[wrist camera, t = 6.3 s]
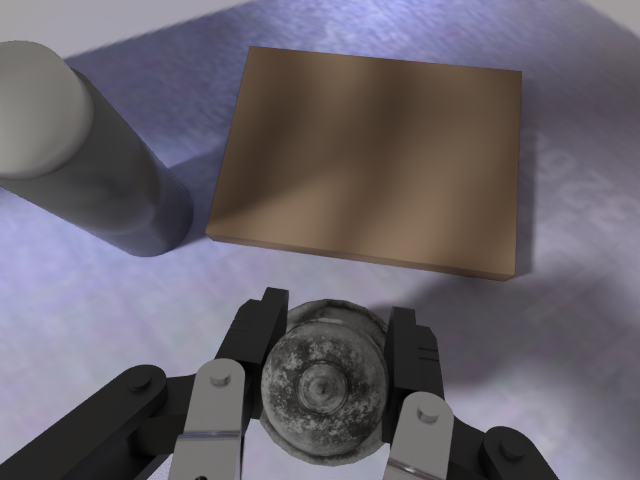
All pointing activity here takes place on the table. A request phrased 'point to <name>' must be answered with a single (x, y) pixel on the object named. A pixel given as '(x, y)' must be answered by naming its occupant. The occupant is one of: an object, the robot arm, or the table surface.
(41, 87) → the grey cylinder
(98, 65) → the table surface
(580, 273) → the table surface
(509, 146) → the walnut board
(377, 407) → the grey chess piece
